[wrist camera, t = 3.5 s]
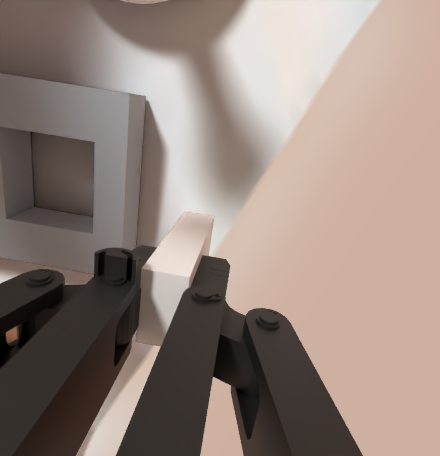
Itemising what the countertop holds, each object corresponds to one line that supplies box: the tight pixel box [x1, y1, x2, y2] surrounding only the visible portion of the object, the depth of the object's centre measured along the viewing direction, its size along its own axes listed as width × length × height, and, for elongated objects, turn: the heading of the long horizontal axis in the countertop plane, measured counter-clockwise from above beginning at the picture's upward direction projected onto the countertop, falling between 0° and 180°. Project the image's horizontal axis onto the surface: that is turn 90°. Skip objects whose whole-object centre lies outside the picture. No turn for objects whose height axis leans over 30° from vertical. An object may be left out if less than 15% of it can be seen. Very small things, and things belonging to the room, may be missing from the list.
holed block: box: [0, 73, 146, 274], centre depth 22 cm, size 15×12×3 cm
